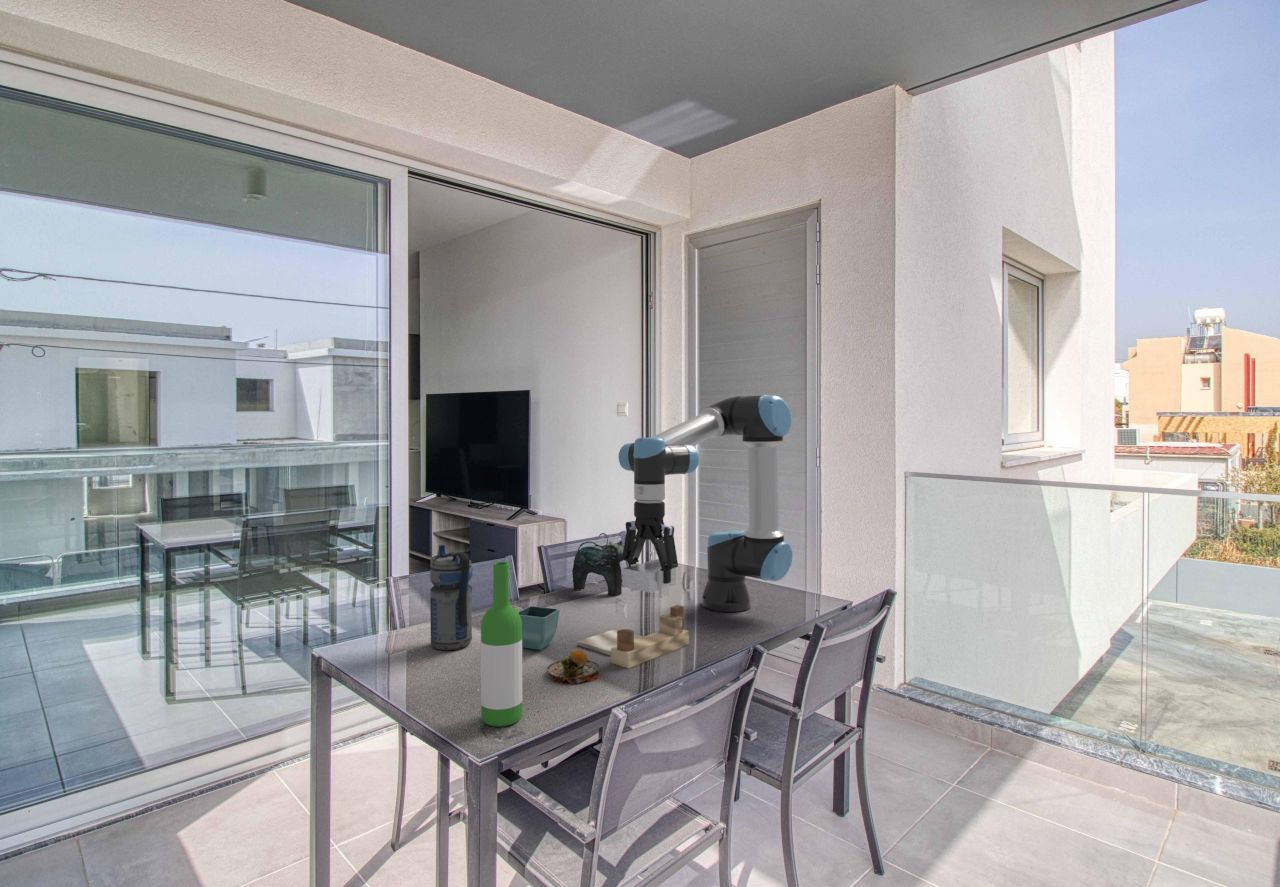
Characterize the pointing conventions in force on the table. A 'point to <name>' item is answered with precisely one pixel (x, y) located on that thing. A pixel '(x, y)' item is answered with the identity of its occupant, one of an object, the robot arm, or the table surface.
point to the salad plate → (574, 669)
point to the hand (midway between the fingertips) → (649, 593)
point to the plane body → (651, 640)
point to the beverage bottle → (450, 600)
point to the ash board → (602, 641)
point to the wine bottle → (501, 655)
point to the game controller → (599, 565)
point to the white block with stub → (645, 576)
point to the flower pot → (538, 626)
